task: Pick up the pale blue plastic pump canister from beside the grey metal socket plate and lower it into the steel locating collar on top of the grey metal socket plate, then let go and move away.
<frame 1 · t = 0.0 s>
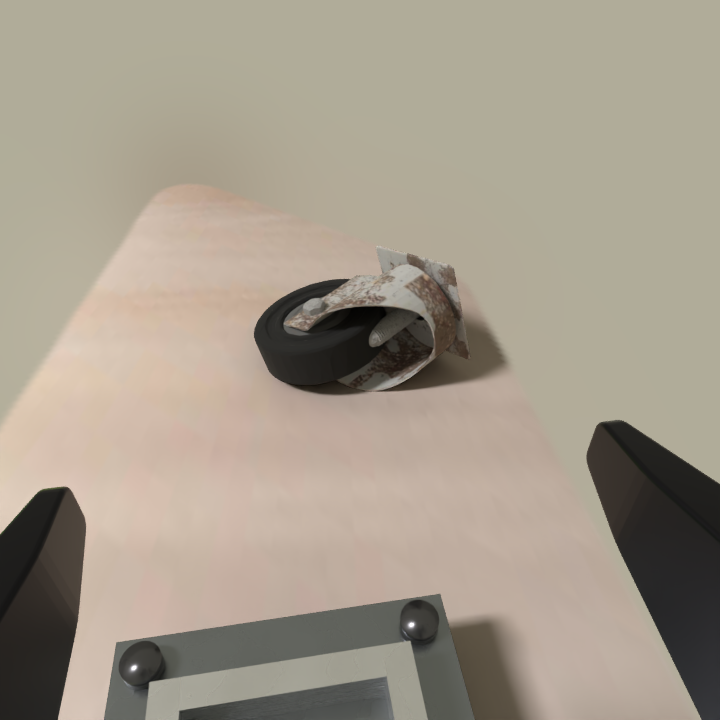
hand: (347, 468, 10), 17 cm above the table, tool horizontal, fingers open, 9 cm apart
caster wheel: (348, 365, 38), on the table
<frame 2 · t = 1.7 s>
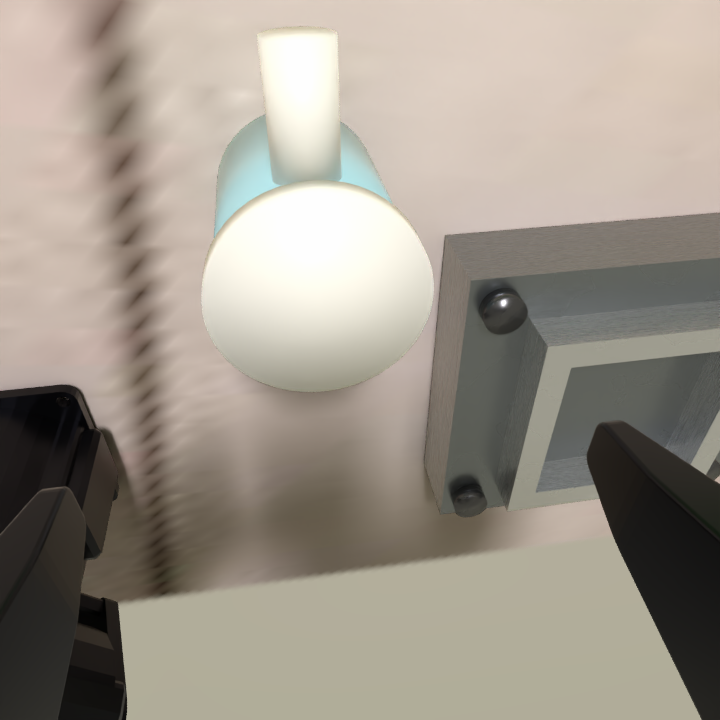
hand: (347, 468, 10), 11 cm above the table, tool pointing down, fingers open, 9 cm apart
grey metal socket plate: (581, 350, 25), on the table
pump canister: (297, 190, 19), on the table
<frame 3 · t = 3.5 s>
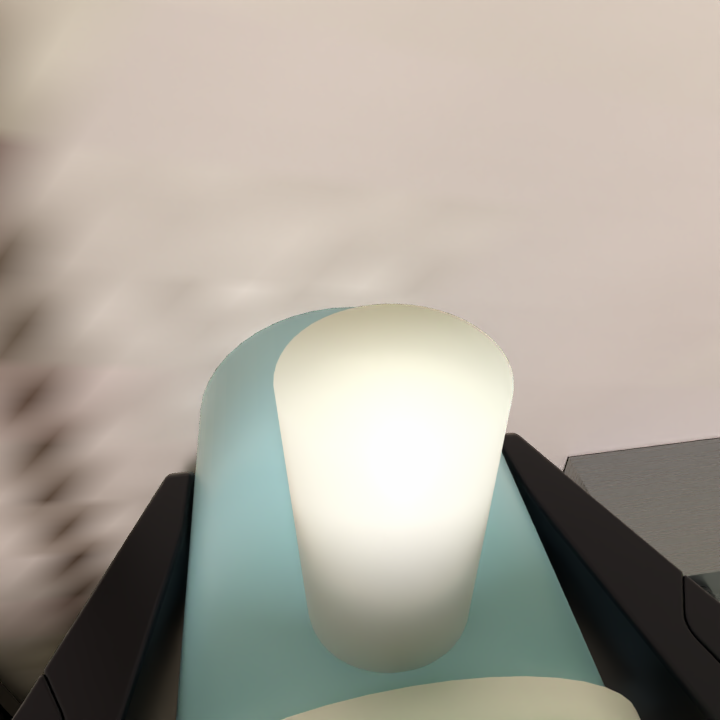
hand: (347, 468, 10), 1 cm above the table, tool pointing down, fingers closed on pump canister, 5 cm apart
pump canister: (338, 418, 11), on the table, touching gripper
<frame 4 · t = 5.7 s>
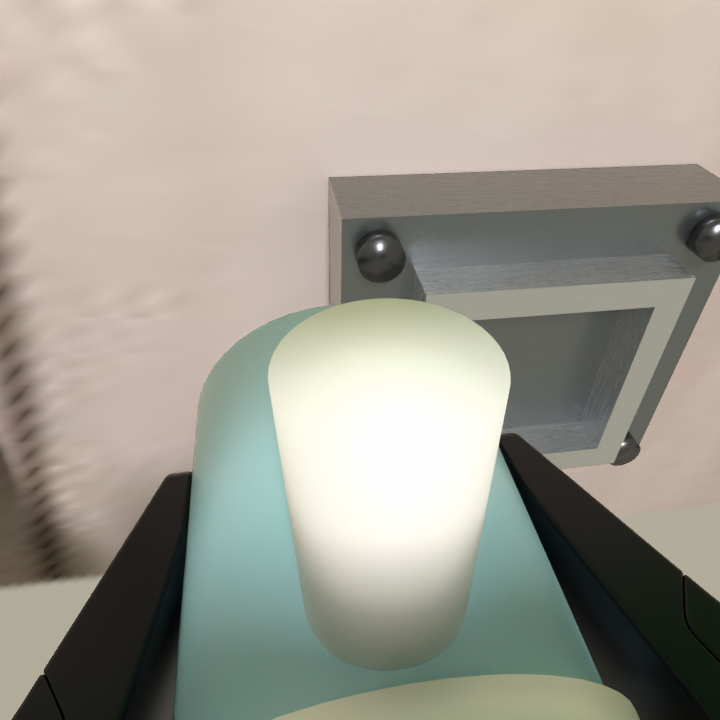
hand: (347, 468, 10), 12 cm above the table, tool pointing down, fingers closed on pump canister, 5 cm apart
grey metal socket plate: (491, 317, 24), on the table
pump canister: (336, 416, 11), point 10 cm above the table, touching gripper
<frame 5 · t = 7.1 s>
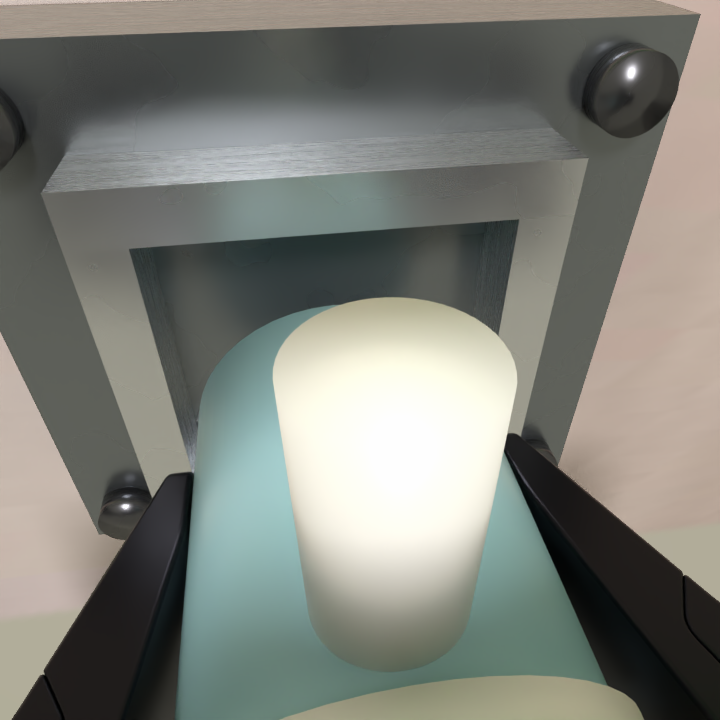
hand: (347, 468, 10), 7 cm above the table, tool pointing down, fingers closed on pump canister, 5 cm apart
grey metal socket plate: (316, 266, 15), on the table
pump canister: (338, 416, 11), point 6 cm above the table, touching gripper
when the fingers open (6 cm above the table, at t = 8.1 s): pump canister drops 1 cm, resting on grey metal socket plate.
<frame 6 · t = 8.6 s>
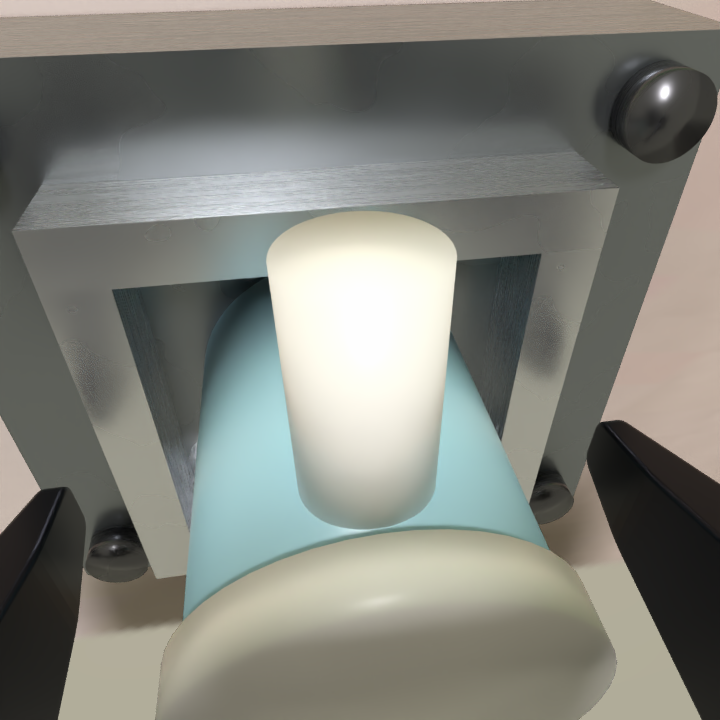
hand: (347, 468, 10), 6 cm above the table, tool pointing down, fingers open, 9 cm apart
grey metal socket plate: (317, 291, 14), on the table
pump canister: (331, 368, 12), point 3 cm above the table, touching grey metal socket plate
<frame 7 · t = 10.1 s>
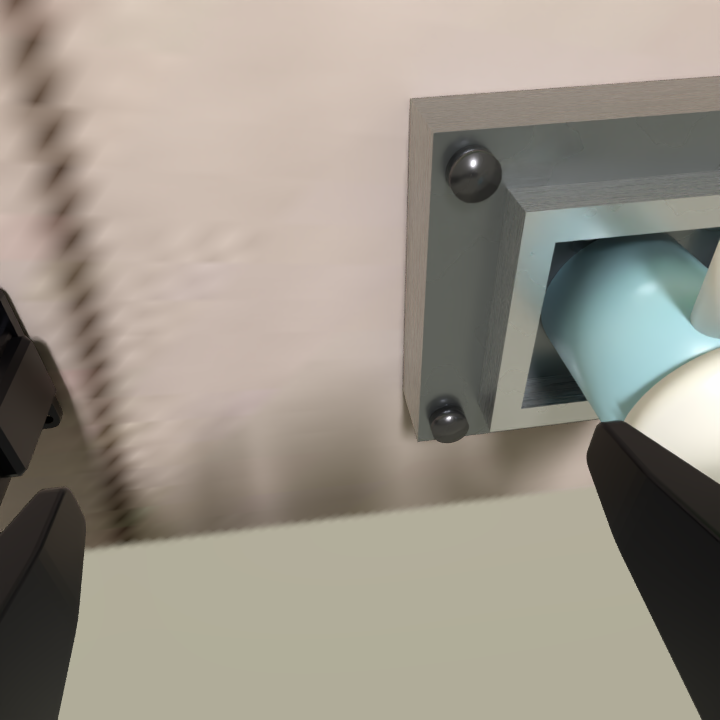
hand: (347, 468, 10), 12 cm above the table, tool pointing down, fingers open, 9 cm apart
grey metal socket plate: (575, 253, 22), on the table
pump canister: (613, 296, 20), point 3 cm above the table, touching grey metal socket plate
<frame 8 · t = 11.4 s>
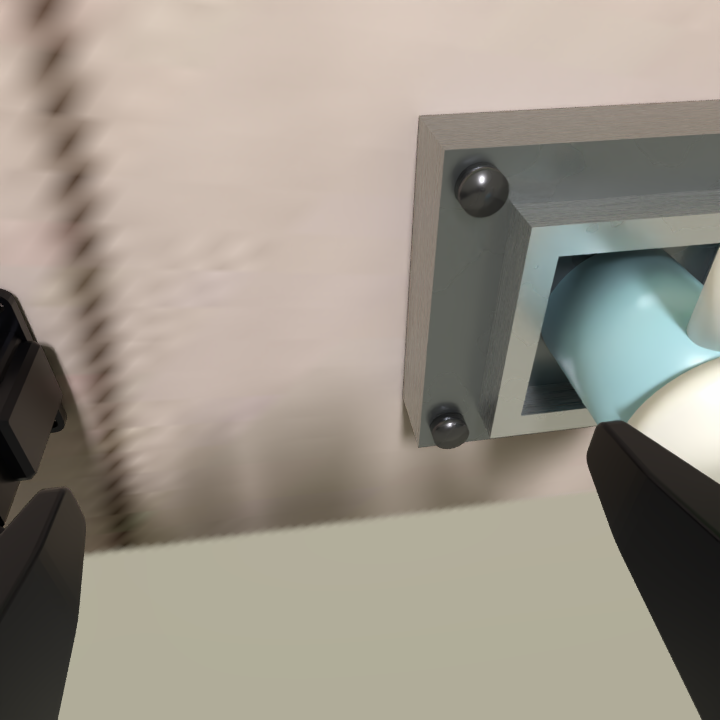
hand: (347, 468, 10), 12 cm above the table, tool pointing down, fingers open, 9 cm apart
grey metal socket plate: (572, 266, 23), on the table
pump canister: (610, 307, 21), point 3 cm above the table, touching grey metal socket plate
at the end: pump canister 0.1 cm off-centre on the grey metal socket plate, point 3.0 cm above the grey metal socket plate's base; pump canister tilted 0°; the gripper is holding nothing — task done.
